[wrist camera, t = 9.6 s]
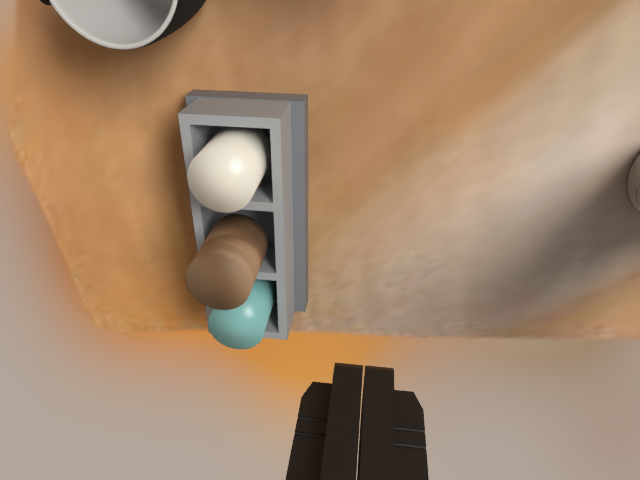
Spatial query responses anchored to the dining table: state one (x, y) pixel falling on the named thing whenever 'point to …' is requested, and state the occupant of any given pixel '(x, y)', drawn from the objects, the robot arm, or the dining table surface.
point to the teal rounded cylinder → (245, 318)
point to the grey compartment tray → (262, 186)
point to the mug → (125, 19)
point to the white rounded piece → (230, 168)
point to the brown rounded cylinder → (228, 262)
